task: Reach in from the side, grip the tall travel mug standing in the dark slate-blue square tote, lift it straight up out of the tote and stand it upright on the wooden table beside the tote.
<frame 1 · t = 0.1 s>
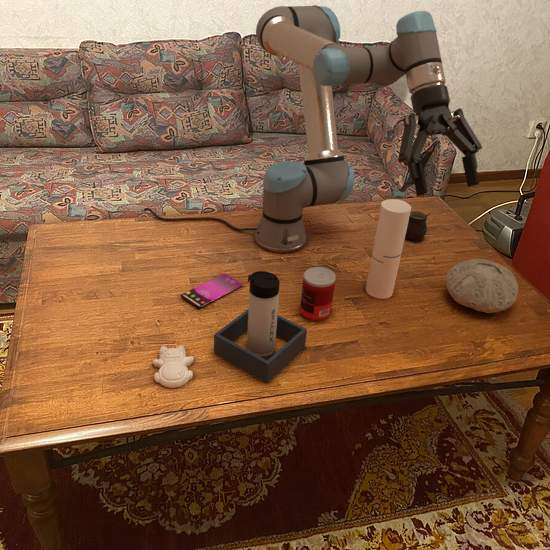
hand: (448, 190, 116), 36 cm above the table, tool tilted 35°, fingers open, 13 cm apart
tote: (260, 350, 125), on the table
white animal figurine: (173, 367, 119), on the table
canned food: (315, 312, 138), on the table
cylindrical container: (379, 291, 147), on the table
smartphone: (212, 292, 142), on the table
travel mug: (260, 351, 125), resting in tote
mate gourd: (413, 237, 172), on the table
decorative shell: (476, 301, 146), on the table
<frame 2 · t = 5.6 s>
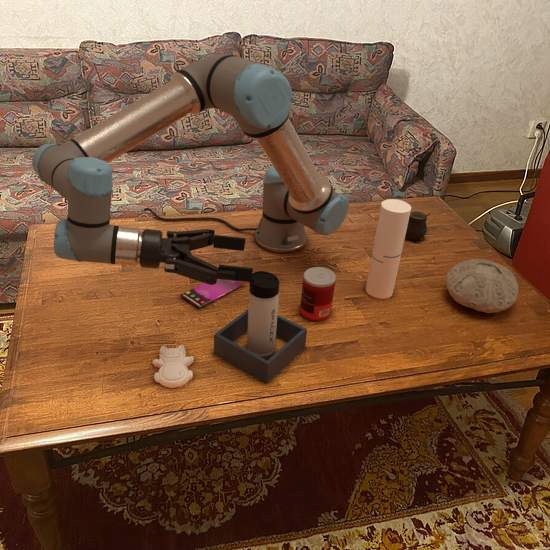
hand: (248, 259, 112), 24 cm above the table, tool horizontal, fingers open, 13 cm apart
nothing on the table moved.
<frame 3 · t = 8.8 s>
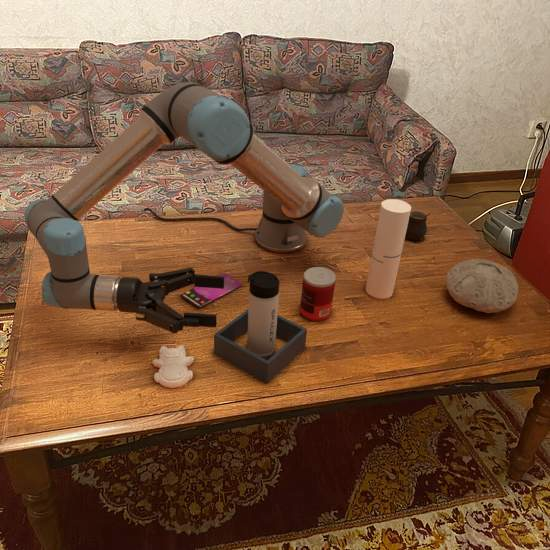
hand: (220, 301, 117), 13 cm above the table, tool horizontal, fingers open, 13 cm apart
nothing on the table moved.
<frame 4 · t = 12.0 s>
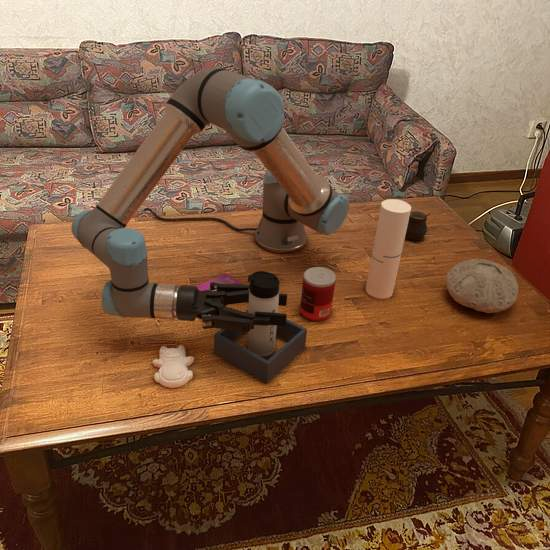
hand: (286, 309, 118), 12 cm above the table, tool horizontal, fingers closed on travel mug, 6 cm apart
travel mug: (260, 351, 125), resting in tote, touching gripper
everything else where it was.
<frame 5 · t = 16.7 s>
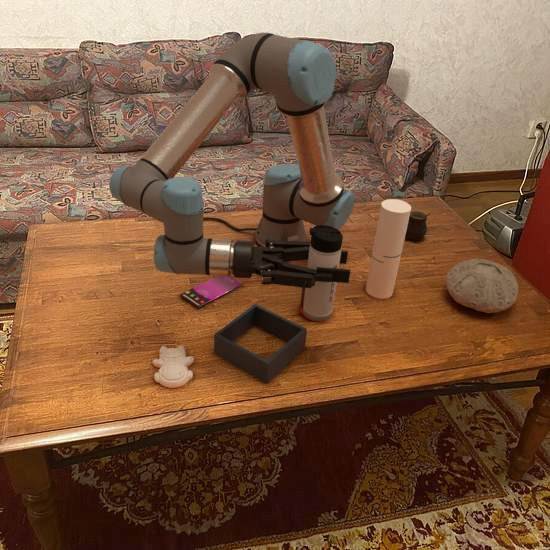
hand: (347, 266, 111), 24 cm above the table, tool horizontal, fingers closed on travel mug, 6 cm apart
travel mug: (316, 313, 118), point 12 cm above the table, touching gripper
everything else where it was.
when the fingers open (12 cm above the table, at t = 21.4 s): travel mug stays where it is, on the table.
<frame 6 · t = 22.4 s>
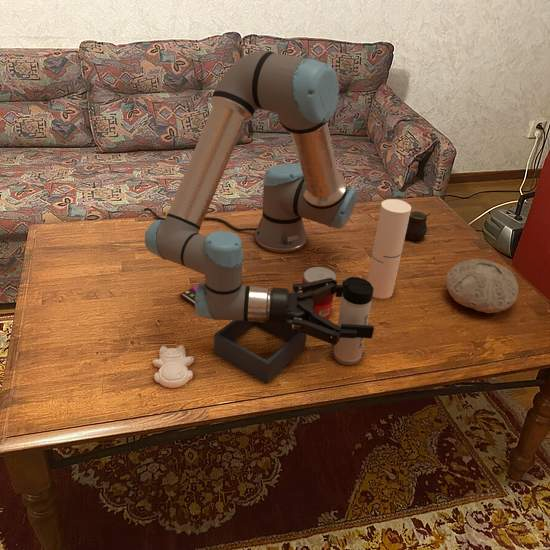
hand: (369, 311, 118), 13 cm above the table, tool horizontal, fingers open, 13 cm apart
travel mug: (346, 356, 125), on the table
everything else where it was.
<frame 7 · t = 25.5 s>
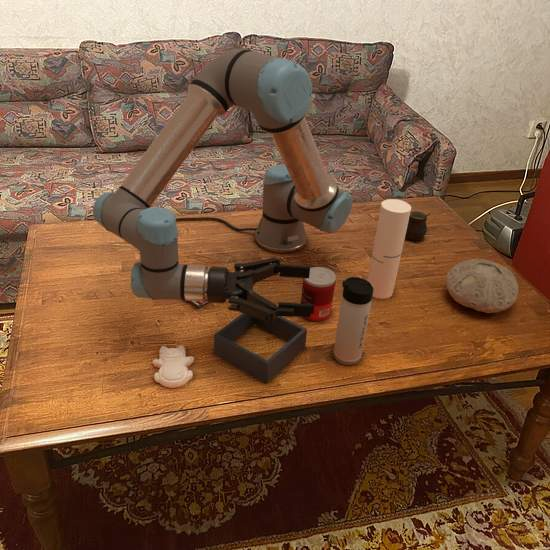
hand: (310, 290, 115), 17 cm above the table, tool horizontal, fingers open, 13 cm apart
nothing on the table moved.
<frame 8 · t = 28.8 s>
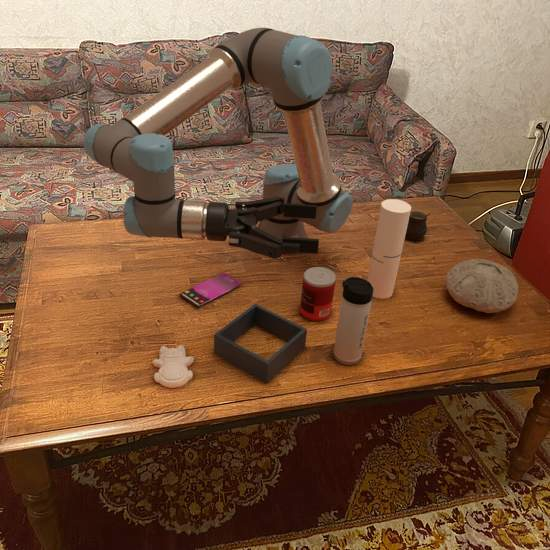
hand: (317, 228, 107), 32 cm above the table, tool horizontal, fingers open, 13 cm apart
nothing on the table moved.
at the end: travel mug inside the target area (0.1 cm from its centre), on the table; travel mug tilted 0°; the gripper is holding nothing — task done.
